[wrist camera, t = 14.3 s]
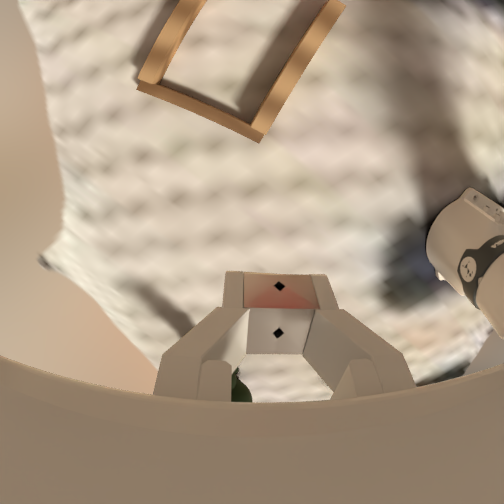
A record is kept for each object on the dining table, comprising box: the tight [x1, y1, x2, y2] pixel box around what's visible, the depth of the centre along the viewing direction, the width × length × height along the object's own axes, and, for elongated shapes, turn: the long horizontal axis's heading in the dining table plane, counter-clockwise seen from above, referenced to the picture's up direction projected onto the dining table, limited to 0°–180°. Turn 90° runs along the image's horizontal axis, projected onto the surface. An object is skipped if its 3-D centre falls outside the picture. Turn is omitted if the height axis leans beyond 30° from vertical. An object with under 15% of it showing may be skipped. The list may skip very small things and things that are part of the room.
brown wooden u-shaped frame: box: [136, 0, 346, 143], centre depth 27 cm, size 22×17×4 cm
